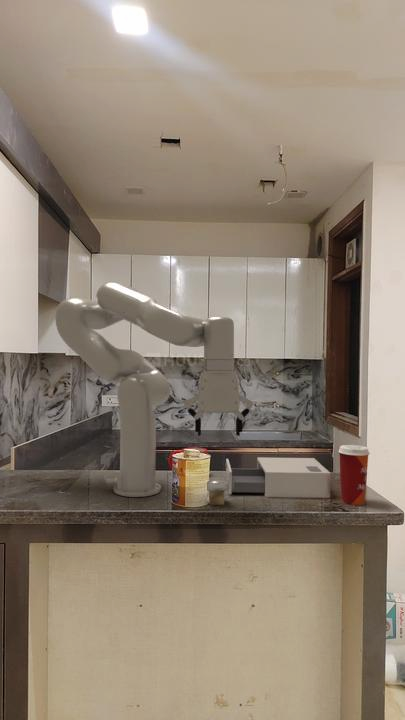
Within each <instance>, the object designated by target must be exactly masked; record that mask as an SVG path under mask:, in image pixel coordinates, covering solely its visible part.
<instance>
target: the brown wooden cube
mask: <svg viewBox="0 0 405 720" xmlns="http://www.w3.org/2000/svg"><path fill="white" fill-rule="evenodd" d="M208 492H209V493H208V504H209V505H212V506H213V505H217V506H218V505H219V506H221V505H222V506H224V505H225V491H223V492H212V491H208Z"/></svg>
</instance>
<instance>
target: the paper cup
mask: <svg viewBox="0 0 405 720" xmlns="http://www.w3.org/2000/svg"><path fill="white" fill-rule="evenodd" d="M337 452H338V453H339V454H338V455H339V471H340V473H339V474H340V477H339V478H340V496H341V497H340V498H341V502H342V503H344V504H345V505H351V506H362V505H365V499H366V492H367V490H366V489H367V488H366V487H367V479H368V477H367V476H368V466H369V465H368V463H369V455H370V453H371V452H369V448H368V447H366V446H364V445H359V444H358V445H356V444H344V445H343V444H342V445H340V446H339V449H338V451H337Z"/></svg>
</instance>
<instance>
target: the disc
mask: <svg viewBox="0 0 405 720" xmlns="http://www.w3.org/2000/svg"><path fill="white" fill-rule="evenodd" d="M208 478H209V481H208V482H207V490H206V491H208V492H209V491H212V492H223V491H224V492H227V491H228V489H229V480H228V479H226V477H225V478H224V477H220V476H218V477H215V476H212V477H208Z"/></svg>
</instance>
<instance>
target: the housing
mask: <svg viewBox="0 0 405 720" xmlns="http://www.w3.org/2000/svg"><path fill="white" fill-rule="evenodd" d="M256 459H257V461H256V462H257V463H256V466H257V467H256V469H263V471H264V472H265V492H262V494H263V495H264V497H265V498H307V499H308V498H309V499H310V498H319V499H322V498H323V499H330V498H331V472H330V471H329V469H327V468H325V466H323V465H322V464H321V463H320V462H319V461H318V460H317V459H316V458H315V457H263V456H261V457H259V456H258V457H257V458H256Z"/></svg>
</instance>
